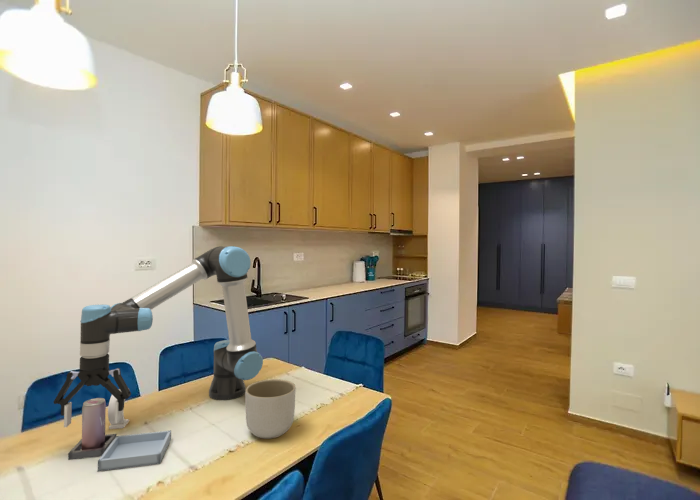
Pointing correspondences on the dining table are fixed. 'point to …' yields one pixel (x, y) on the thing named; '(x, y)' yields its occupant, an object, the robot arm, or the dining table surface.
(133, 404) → the dining table surface
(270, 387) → the planter
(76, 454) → the socket collar
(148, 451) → the tray
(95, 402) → the beverage can
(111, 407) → the white curved strip
